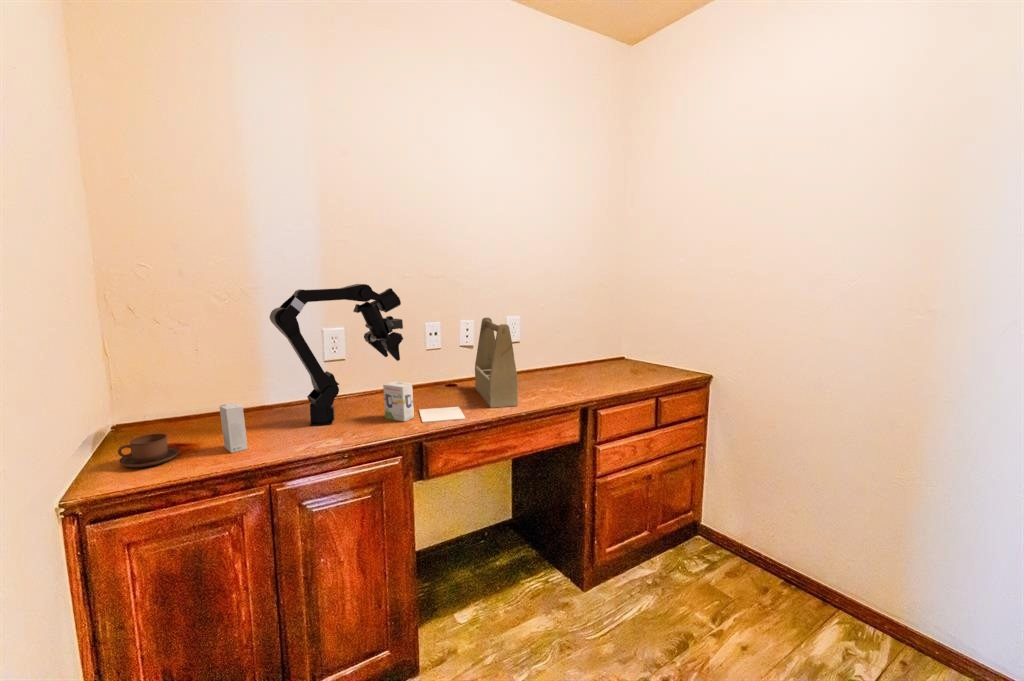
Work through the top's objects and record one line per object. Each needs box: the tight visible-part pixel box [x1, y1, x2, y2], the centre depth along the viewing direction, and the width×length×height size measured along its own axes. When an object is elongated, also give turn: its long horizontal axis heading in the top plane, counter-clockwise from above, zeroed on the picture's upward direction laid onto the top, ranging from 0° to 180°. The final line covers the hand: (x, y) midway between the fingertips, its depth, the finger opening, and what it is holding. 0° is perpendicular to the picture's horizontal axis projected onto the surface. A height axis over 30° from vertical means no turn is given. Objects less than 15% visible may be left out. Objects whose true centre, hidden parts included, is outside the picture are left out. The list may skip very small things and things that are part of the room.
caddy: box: [474, 317, 519, 409], centre depth 178 cm, size 29×11×30 cm, turn 15°
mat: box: [418, 406, 467, 424], centre depth 157 cm, size 14×14×1 cm
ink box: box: [382, 380, 415, 422], centre depth 152 cm, size 9×5×12 cm, turn 62°
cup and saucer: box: [117, 433, 180, 469], centre depth 117 cm, size 12×12×6 cm
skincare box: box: [219, 402, 248, 454], centre depth 125 cm, size 6×4×12 cm
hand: (392, 358), depth 162 cm, fingers open, 9 cm apart
